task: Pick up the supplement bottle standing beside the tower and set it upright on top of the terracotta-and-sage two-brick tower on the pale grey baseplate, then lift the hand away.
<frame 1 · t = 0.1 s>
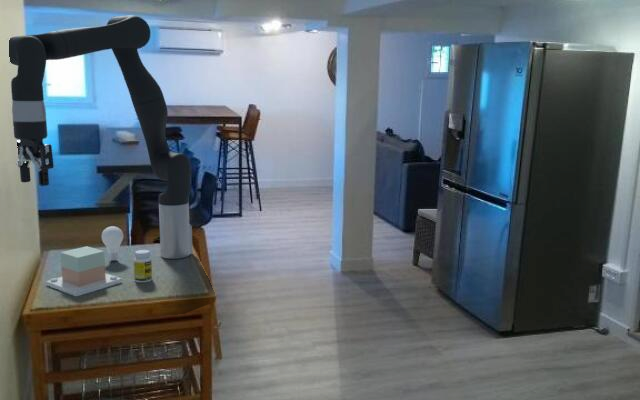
hand: (34, 183, 152), 29 cm above the table, tool pointing down, fingers open, 8 cm apart
lightbulb: (113, 261, 187), on the table
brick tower: (84, 283, 166), on the table
supplement bottle: (143, 280, 169), on the table
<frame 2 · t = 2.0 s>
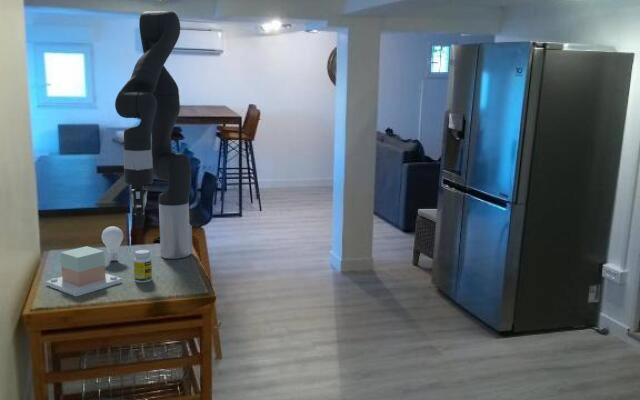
hand: (140, 224, 166), 16 cm above the table, tool pointing down, fingers open, 8 cm apart
nothing on the table moved.
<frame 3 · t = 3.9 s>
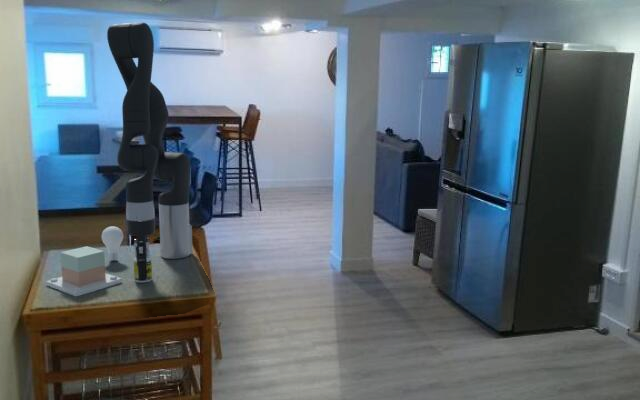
hand: (143, 275, 169), 1 cm above the table, tool pointing down, fingers closed on supplement bottle, 4 cm apart
supplement bottle: (143, 280, 169), on the table, touching gripper
everything else where it was.
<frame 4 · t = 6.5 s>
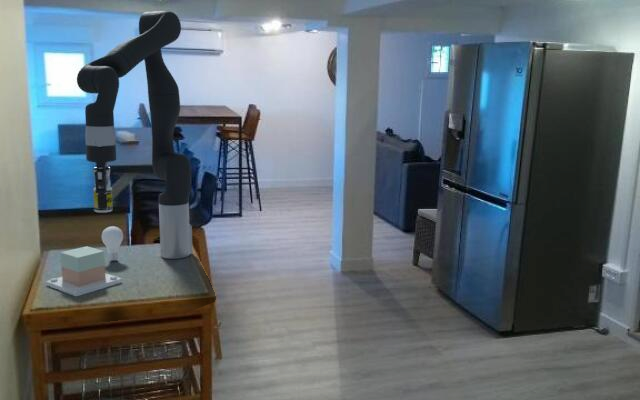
hand: (103, 205, 162), 22 cm above the table, tool pointing down, fingers closed on supplement bottle, 4 cm apart
supplement bottle: (103, 211, 163), point 20 cm above the table, touching gripper
everything else where it was.
when the fingers open (12 cm above the table, at t = 9.1 s): supplement bottle drops 1 cm, resting on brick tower.
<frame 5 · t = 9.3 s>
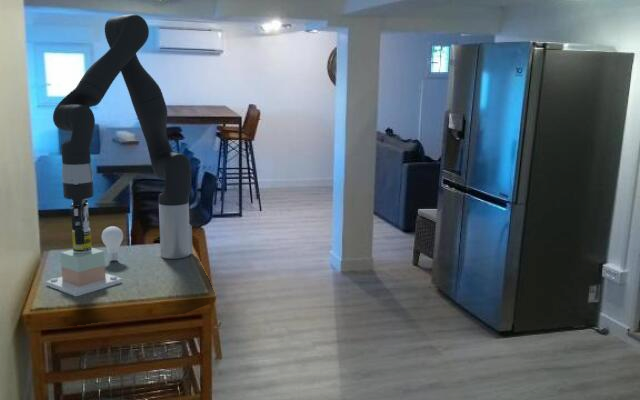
hand: (81, 240, 163), 12 cm above the table, tool pointing down, fingers open, 6 cm apart
supplement bottle: (82, 252, 164), point 9 cm above the table, touching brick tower
everything else where it was.
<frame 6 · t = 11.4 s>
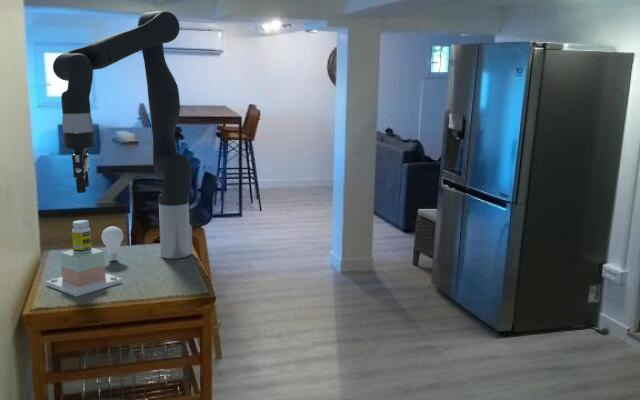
hand: (83, 189, 164), 26 cm above the table, tool pointing down, fingers open, 8 cm apart
nothing on the table moved.
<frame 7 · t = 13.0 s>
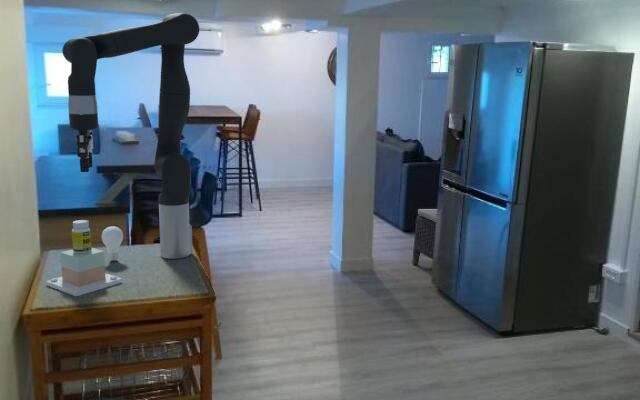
hand: (86, 169, 171), 30 cm above the table, tool pointing down, fingers open, 8 cm apart
nothing on the table moved.
at the end: supplement bottle 0.1 cm off-centre on the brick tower, point 9.0 cm above the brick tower's base; supplement bottle tilted 0°; the gripper is holding nothing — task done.
